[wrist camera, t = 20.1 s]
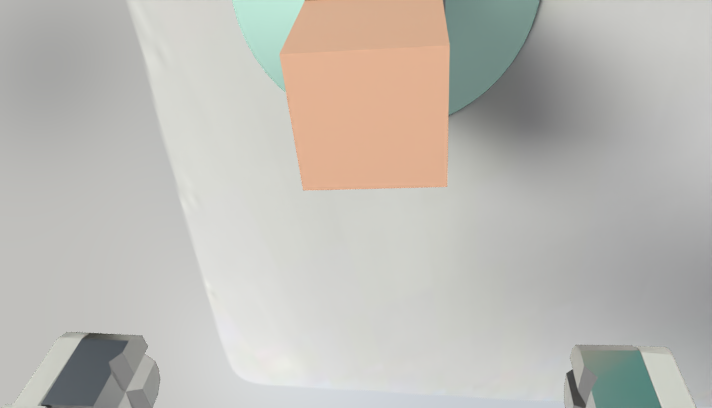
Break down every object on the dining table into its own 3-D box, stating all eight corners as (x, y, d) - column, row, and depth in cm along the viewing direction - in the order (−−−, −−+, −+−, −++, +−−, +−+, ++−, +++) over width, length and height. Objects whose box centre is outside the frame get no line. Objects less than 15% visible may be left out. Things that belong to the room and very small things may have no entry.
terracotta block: (441, -8, 20) (449, 45, 16) (440, 116, 23) (447, 186, 19) (304, 1, 20) (279, 53, 16) (321, 120, 23) (303, 190, 19)
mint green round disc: (564, -218, 23) (589, -218, 20) (525, 121, 32) (537, 158, 29) (195, -180, 25) (164, -174, 21) (262, 131, 34) (247, 167, 31)
